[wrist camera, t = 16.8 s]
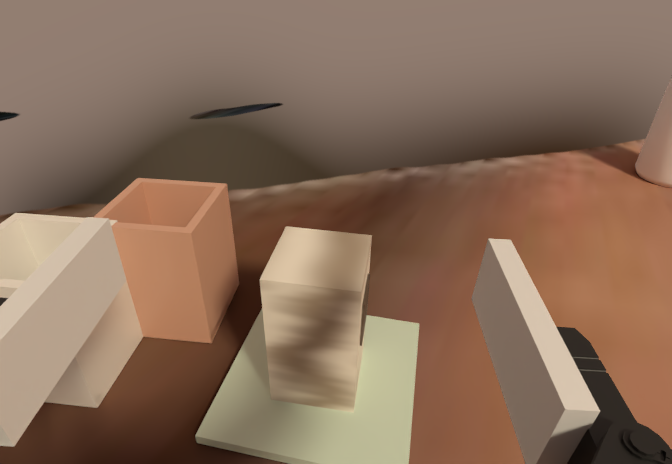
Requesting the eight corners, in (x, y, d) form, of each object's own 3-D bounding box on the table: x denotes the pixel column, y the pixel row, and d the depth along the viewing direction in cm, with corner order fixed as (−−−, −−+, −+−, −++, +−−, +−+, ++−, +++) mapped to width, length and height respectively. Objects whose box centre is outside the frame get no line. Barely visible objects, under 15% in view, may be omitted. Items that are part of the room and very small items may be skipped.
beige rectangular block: (270, 399, 32) (259, 279, 26) (292, 337, 37) (286, 225, 31) (355, 413, 31) (364, 292, 25) (365, 347, 36) (374, 234, 30)
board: (196, 442, 30) (195, 435, 29) (267, 305, 41) (266, 299, 41) (405, 489, 27) (407, 482, 27) (418, 330, 39) (419, 323, 38)
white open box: (-6, 396, 32) (-80, 279, 26) (62, 319, 39) (15, 212, 33) (97, 408, 32) (45, 290, 26) (148, 328, 38) (117, 220, 33)
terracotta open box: (121, 334, 38) (84, 225, 32) (162, 277, 45) (137, 177, 39) (211, 343, 37) (191, 233, 31) (239, 283, 44) (226, 183, 38)
